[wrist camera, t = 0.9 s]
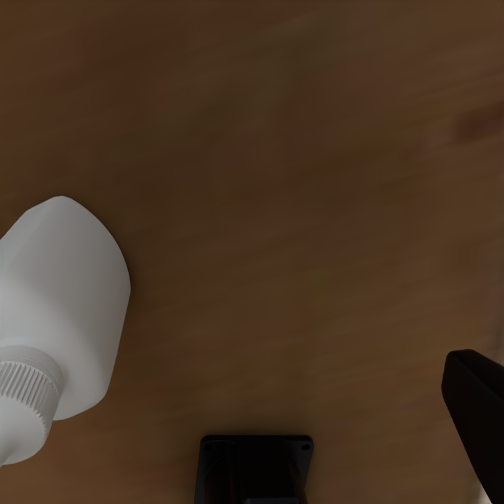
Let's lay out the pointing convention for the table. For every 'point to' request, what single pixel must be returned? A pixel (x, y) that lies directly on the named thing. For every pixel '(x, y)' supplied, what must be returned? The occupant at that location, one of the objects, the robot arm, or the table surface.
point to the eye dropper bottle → (56, 320)
